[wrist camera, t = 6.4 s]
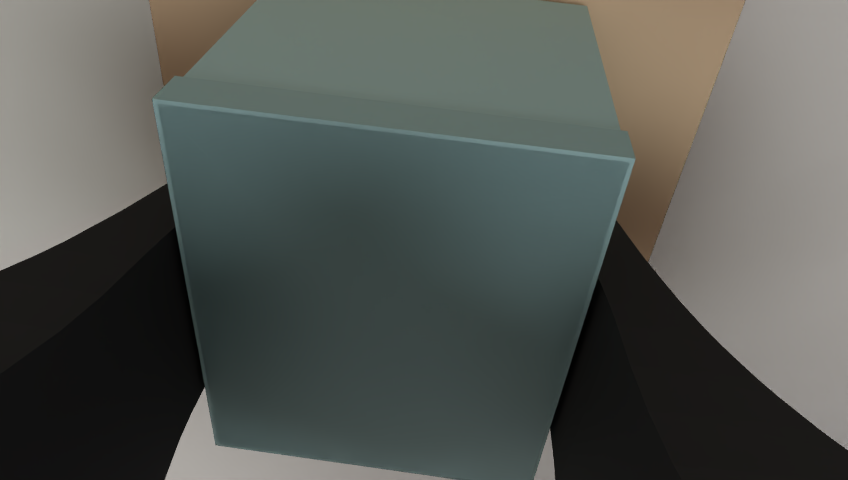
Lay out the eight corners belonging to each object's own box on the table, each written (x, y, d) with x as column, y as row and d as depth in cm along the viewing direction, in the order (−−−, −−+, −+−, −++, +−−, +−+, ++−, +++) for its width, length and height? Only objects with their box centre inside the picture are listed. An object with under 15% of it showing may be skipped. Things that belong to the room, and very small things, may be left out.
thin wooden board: (587, 378, 18) (591, 414, 17) (226, 330, 18) (210, 363, 17) (811, -266, 10) (844, -264, 9) (131, -333, 10) (91, -341, 9)
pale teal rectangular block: (525, 283, 15) (530, 489, 11) (295, 254, 15) (215, 445, 11) (590, 3, 11) (635, 158, 7) (281, -33, 11) (151, 98, 7)
